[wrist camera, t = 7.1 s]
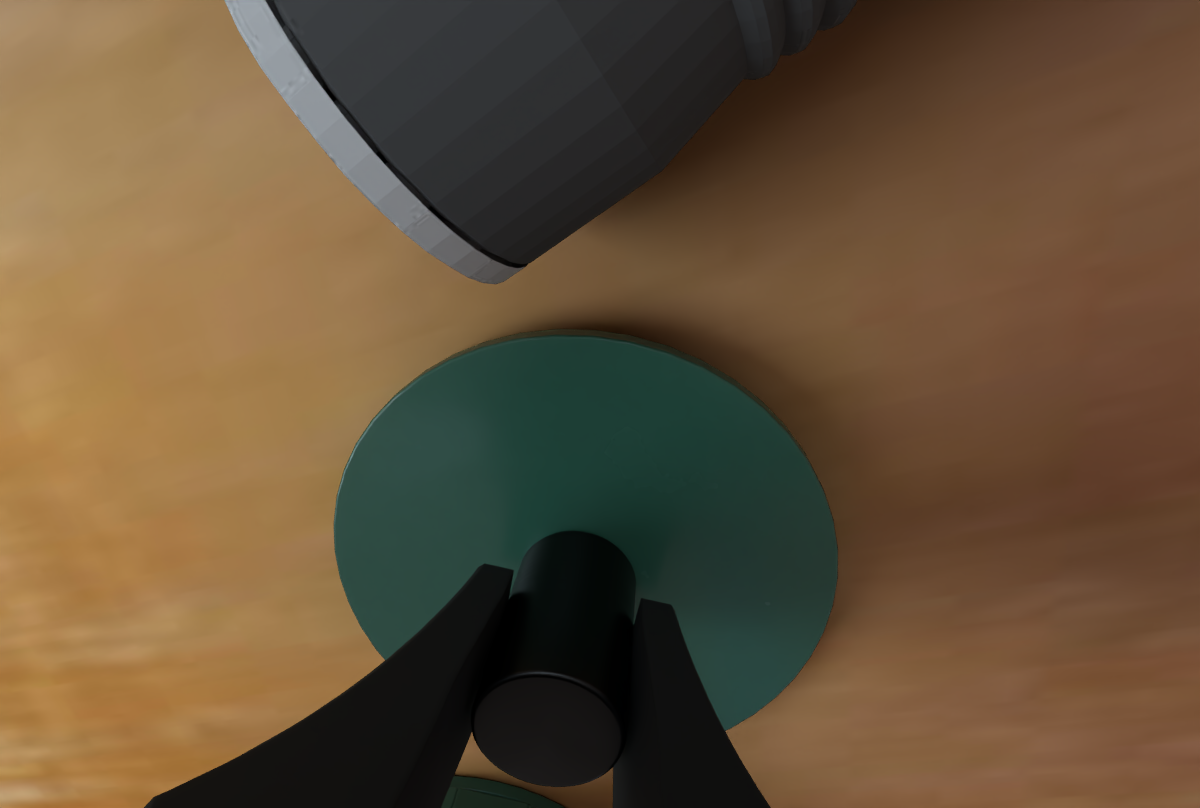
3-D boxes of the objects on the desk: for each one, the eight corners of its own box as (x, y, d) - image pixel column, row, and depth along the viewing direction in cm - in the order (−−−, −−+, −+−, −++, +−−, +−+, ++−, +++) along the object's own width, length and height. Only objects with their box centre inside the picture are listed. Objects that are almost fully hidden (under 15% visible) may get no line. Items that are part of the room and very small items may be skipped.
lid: (746, 760, 17) (778, 993, 12) (346, 671, 17) (227, 868, 12) (903, 385, 13) (1045, 525, 8) (365, 268, 13) (194, 339, 8)
